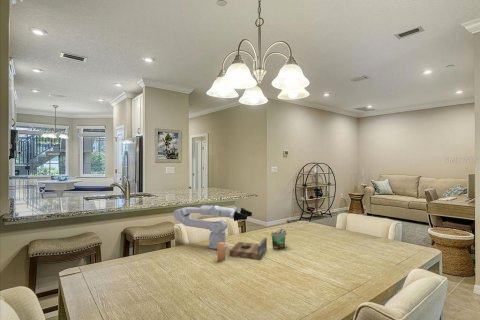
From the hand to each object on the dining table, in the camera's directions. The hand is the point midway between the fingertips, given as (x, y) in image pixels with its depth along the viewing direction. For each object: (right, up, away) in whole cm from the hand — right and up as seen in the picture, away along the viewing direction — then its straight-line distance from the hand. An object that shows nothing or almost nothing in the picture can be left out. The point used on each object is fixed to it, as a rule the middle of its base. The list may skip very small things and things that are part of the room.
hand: (249, 215), depth 153 cm
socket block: (-1, -21, -2) cm, 21 cm away
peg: (-15, -21, -13) cm, 29 cm away
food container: (+19, -21, +6) cm, 29 cm away
